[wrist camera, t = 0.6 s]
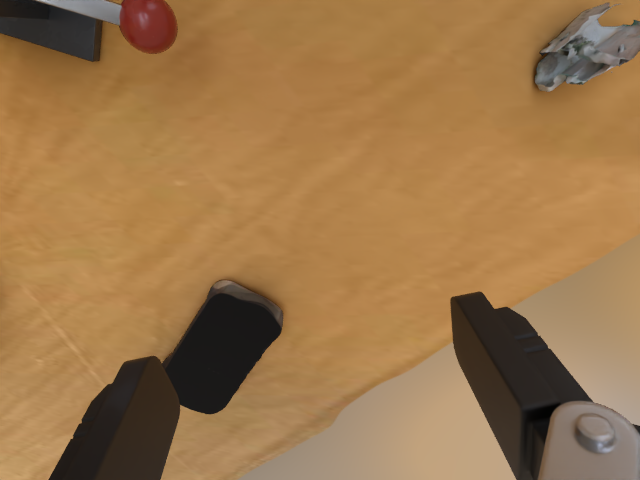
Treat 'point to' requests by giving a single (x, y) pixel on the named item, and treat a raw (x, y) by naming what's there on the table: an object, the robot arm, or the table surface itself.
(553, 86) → the crumpled paper
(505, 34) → the table surface
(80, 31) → the bracket
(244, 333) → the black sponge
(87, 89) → the table surface
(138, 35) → the lever
